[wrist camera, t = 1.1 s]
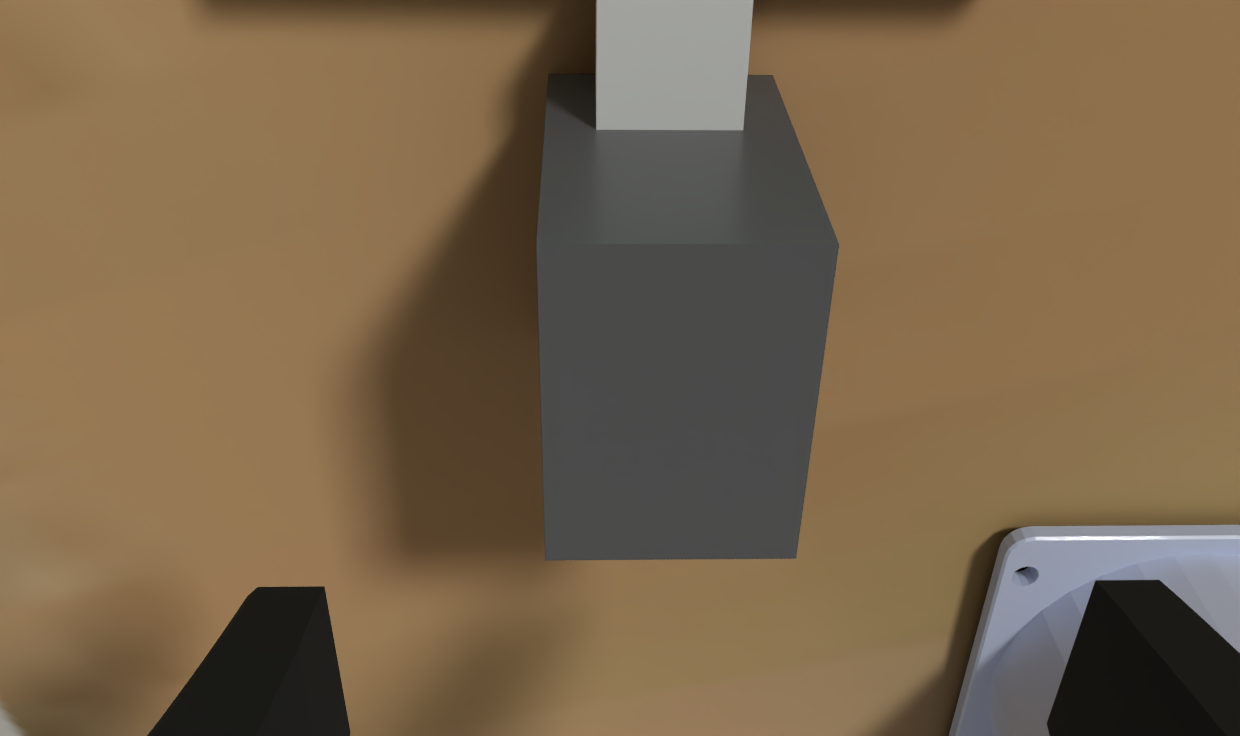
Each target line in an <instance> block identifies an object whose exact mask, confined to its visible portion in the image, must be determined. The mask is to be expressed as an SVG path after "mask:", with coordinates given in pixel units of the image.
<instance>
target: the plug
mask: <svg viewBox="0 0 1240 736" xmlns="http://www.w3.org/2000/svg"><path fill="white" fill-rule="evenodd" d="M753 1H754V0H596V50H595V74H549V75H548V89H547V103H546V116H545V130H544V144H543V157H542V171H541V185H540V199H539V212H538V226H537V240H536V255H537V290H538V324H539V359H540V393H541V428H542V462H543V497H544V531H545V560H653V559H792V558H796V554H797V547H798V540H799V533H800V525H801V518H802V511H803V503H804V496H805V489H806V481H807V474H808V467H809V460H810V452H811V445H812V438H813V430H814V423H815V416H816V408H817V401H818V394H819V387H820V379H821V372H822V365H823V357H824V350H825V343H826V335H827V328H828V321H829V314H830V306H831V299H832V292H833V284H834V277H835V270H836V262H837V255H838V248H839V243H838V241H837V238H836V235H835V233H834V230H833V228H832V225H831V223H830V220H829V218H828V215H827V213H826V210H825V207H824V205H823V202H822V200H821V197H820V195H819V192H818V190H817V187H816V184H815V182H814V179H813V177H812V174H811V172H810V169H809V167H808V164H807V162H806V159H805V156H804V154H803V151H802V149H801V146H800V144H799V141H798V139H797V136H796V133H795V131H794V128H793V126H792V123H791V121H790V118H789V116H788V113H787V111H786V108H785V105H784V103H783V100H782V98H781V95H780V93H779V90H778V88H777V85H776V82H775V80H774V77H773V75H748V63H749V51H750V38H751V26H752V13H753Z"/></svg>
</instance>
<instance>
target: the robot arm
mask: <svg viewBox="0 0 1240 736" xmlns="http://www.w3.org/2000/svg"><path fill="white" fill-rule="evenodd" d="M1028 566H1029V567H1028ZM1022 567H1028V568H1027V569H1025V570H1023V571H1019V572H1015V571H1017V570H1018V569H1020V568H1022ZM147 736H350V728H349V723H348V717H347V711H346V706H345V700H344V694H343V689H342V683H341V678H340V672H339V666H338V661H337V655H336V649H335V644H334V638H333V633H332V627H331V621H330V616H329V610H328V604H327V599H326V593H325V588H324V587H258V588H256V589H255V590H254V591H253V592H252V593H251V594H250V595H248V596H247V598H246V599H245V601H244V602H243V604H242V605H241V607H240V608H239V610H238V611H237V612H236V614H235V615H234V617H233V618H232V620H231V621H230V623H229V624H228V626H227V627H226V629H225V630H224V631H223V633H222V634H221V636H220V637H219V639H218V640H217V642H216V643H215V644H214V646H213V647H212V649H211V650H210V652H209V653H208V654H207V656H206V657H205V659H204V660H203V661H202V663H201V664H200V666H199V667H198V668H197V670H196V671H195V673H194V674H193V675H192V677H191V678H190V679H189V681H188V682H187V684H186V685H185V686H184V688H183V689H182V690H181V692H180V693H179V694H178V696H177V697H176V699H175V700H174V701H173V703H172V704H171V705H170V707H169V708H168V709H167V711H166V712H165V713H164V715H163V716H162V717H161V719H160V720H159V721H158V723H157V724H156V725H155V726H154V728H153V729H152V730H151V732H150V733H149V734H148V735H147ZM949 736H1240V525H1149V526H1029V527H1022V528H1019V529H1016V530H1014V531H1012V532H1010V533H1009V534H1008V535H1007V536H1006V537H1005V538H1004V539H1003V541H1002V542H1001V544H1000V547H999V551H998V554H997V558H996V562H995V565H994V569H993V573H992V577H991V580H990V584H989V588H988V591H987V595H986V599H985V603H984V606H983V610H982V614H981V617H980V621H979V625H978V629H977V632H976V636H975V640H974V643H973V647H972V651H971V655H970V658H969V662H968V666H967V669H966V673H965V677H964V681H963V684H962V688H961V692H960V695H959V699H958V703H957V706H956V710H955V714H954V718H953V721H952V725H951V729H950V732H949Z"/></svg>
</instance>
